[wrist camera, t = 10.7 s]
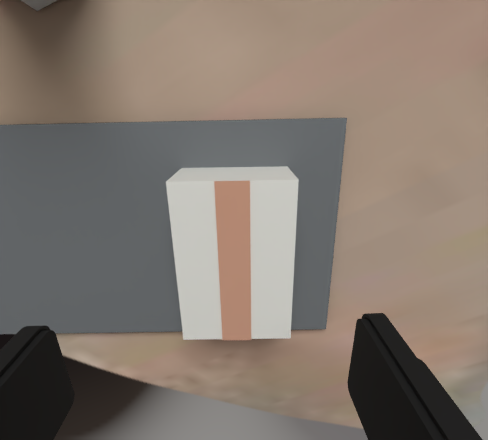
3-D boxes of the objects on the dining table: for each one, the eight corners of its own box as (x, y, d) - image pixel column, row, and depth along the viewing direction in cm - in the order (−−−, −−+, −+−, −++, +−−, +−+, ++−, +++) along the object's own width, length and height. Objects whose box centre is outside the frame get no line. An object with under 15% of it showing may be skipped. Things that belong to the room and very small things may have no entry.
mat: (-8, 329, 21) (-14, 334, 20) (-89, 126, 16) (-99, 127, 16) (324, 324, 21) (325, 329, 20) (343, 117, 16) (346, 117, 15)
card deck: (181, 168, 16) (165, 182, 13) (287, 166, 16) (298, 180, 13) (193, 301, 19) (183, 341, 16) (282, 300, 19) (290, 339, 16)
